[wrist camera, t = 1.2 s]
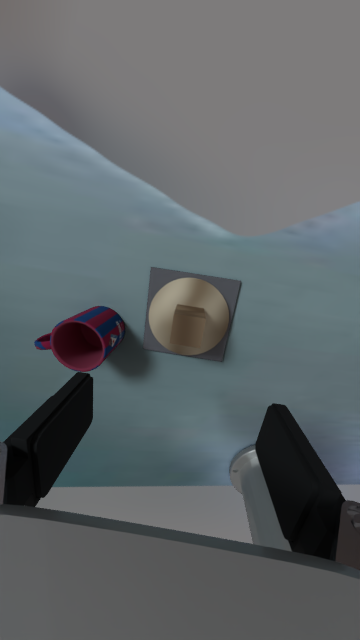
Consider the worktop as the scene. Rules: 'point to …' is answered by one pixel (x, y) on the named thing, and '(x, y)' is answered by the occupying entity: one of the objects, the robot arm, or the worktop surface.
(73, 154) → the worktop surface
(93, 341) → the mug
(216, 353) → the mat
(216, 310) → the lid
